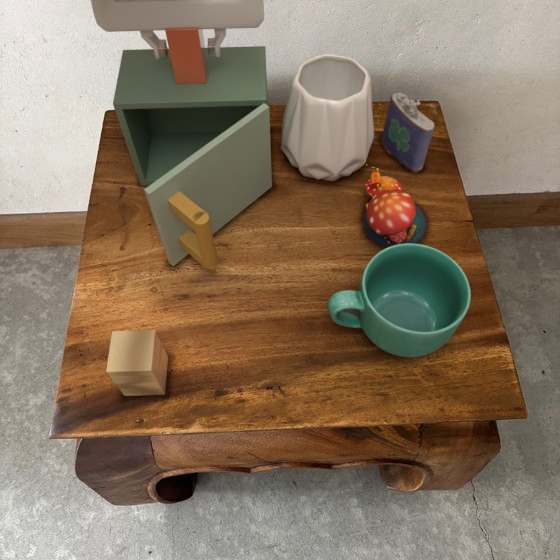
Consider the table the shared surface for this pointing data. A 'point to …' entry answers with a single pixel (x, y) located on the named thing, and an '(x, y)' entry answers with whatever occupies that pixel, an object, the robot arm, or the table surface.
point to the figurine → (391, 213)
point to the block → (187, 54)
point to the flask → (407, 132)
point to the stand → (137, 362)
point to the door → (212, 188)
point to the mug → (406, 300)
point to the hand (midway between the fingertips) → (188, 55)
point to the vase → (328, 117)
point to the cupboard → (183, 105)
